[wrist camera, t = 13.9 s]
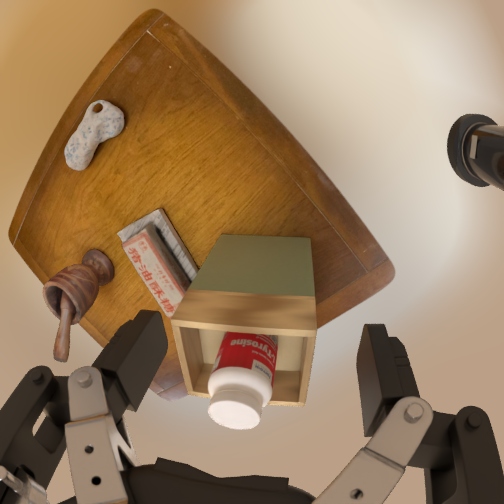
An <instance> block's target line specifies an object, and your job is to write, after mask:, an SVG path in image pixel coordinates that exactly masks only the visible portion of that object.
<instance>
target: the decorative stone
mask: <svg viewBox="0 0 504 504" xmlns="http://www.w3.org/2000/svg"><path fill="white" fill-rule="evenodd" d="M97 103H100V104H102V105H103V109H102V111H100V112H99V113H95V112H94V111H93V107H94V106H95V105H96V104H97ZM123 127H124V115H123V112H122V111H121V110H120V109H119V108H118V107H116V106H114V105H112V104H111V103H109V102H107V101H104V100H99V101H96V102H94V103H92V104H91V105H90V106H89V107H88V109H87V111H86V114H85V116H84V118H83V121H82V122H81V124H80V125H79V126H78V129H77V130H76V132H75V133H74V134H73V135H72V136H71V138H70V139H69V141H68V144H67V145H66V148H65V157H66V163H67V164H68V166H69V167H70V168H72V169H74V170H78V171H80V170H84V169H85V168H86V167H87V166H88V165H89V163H90V161H91V159H92V157H93V155H94V152H95V149H96V148H97V146H98V144H99V143H101V142H103V141H105V140H107V139H109V138H113V137H115V136H117V135H118V134H120V133H121V131H122V129H123Z"/></svg>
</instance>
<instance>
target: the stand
mask: <svg viewBox="0 0 504 504" xmlns="http://www.w3.org/2000/svg"><path fill="white" fill-rule="evenodd" d="M188 289H197V290H210V291H224V292H238V293H254V294H272V295H292V296H314V297H315V289H314V275H313V263H312V251H311V241H310V238H307V237H283V236H257V235H228V234H221V235H220V237H219V239H218V240H217V242H216V244H215V245H214V247H213V248H212V250H211V252H210V253H209V255H208V257H207V258H206V260H205V262H204V263H203V265H202V267H201V268H200V270H199V272H198V273H197V275H196V277H195V278H194V280H193V282H192V283H191V285H190V287H189V288H188Z"/></svg>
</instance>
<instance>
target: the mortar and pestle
mask: <svg viewBox="0 0 504 504" xmlns="http://www.w3.org/2000/svg"><path fill="white" fill-rule="evenodd" d="M113 276H114V269H113V265H112V263H111V261H110V260H109V259H108V257H107V256H106V255H104V254H103V253H101V252H100V251H98V250H96V249H94V250H90V251H88V252H87V253H86V254H85V255H84V257H83V259H82V264H74V265H72V266H69V267H66V268H64V269H62V270H61V271H60V272H58V273H57V274H56V275H55V276H54V277H52V278H51V279H50V280H49V281H48V282H46V284H45V285H44V287H43V296H44V299H45V302H46V304H47V306H48V308H49V309H50V311H51V312H52V313H53V314H54V315H55V316H56V317H57V318H58V319H60V324H59V328H58V332H57V336H56V340H55V345H54V350H53V354H54V359H55V360H57V361H60V362H67V359H68V356H69V348H70V346H69V345H70V325H74V324H77V323H79V321H80V320H81V319H82V317H83V316H84V315H85V313H86V312H87V311H88V310H89V309H90V307H91V306H92V305H93V303H94V301H95V299H96V297H97V295H98V292H99V286H103V285H106V284H108V283H109V282H110V281H112V279H113Z"/></svg>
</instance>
